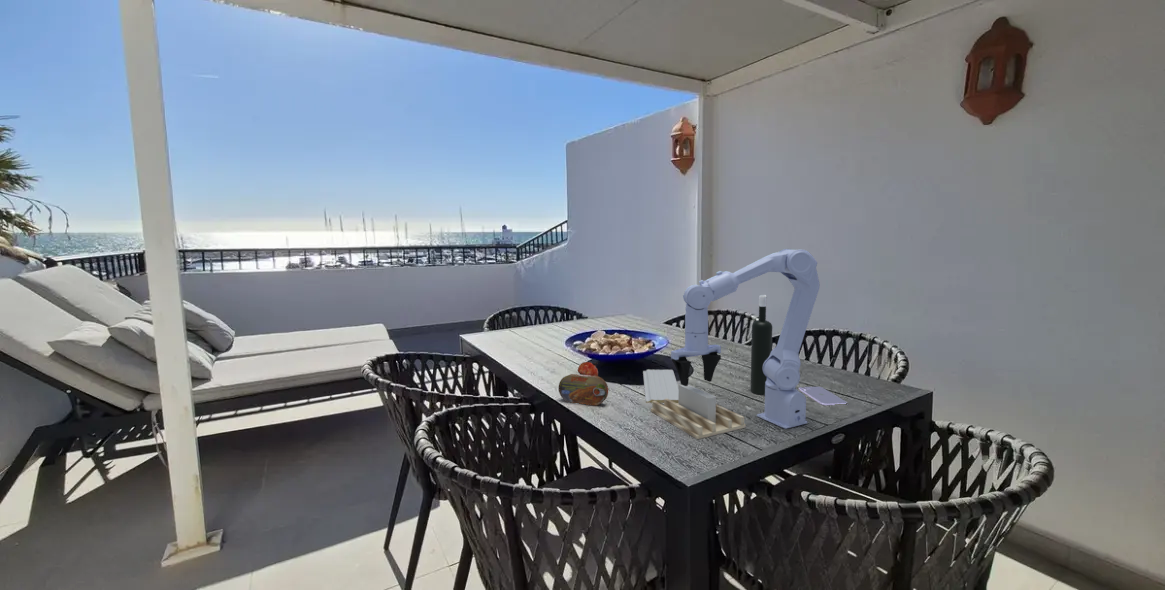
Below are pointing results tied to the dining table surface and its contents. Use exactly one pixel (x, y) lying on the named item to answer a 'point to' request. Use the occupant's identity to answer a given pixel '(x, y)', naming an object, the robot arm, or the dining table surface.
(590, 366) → the pomegranate
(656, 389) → the baseboard molding
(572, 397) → the tin
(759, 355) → the wine bottle
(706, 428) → the rack
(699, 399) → the gray rectangular block
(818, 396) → the mobile phone
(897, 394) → the dining table surface
